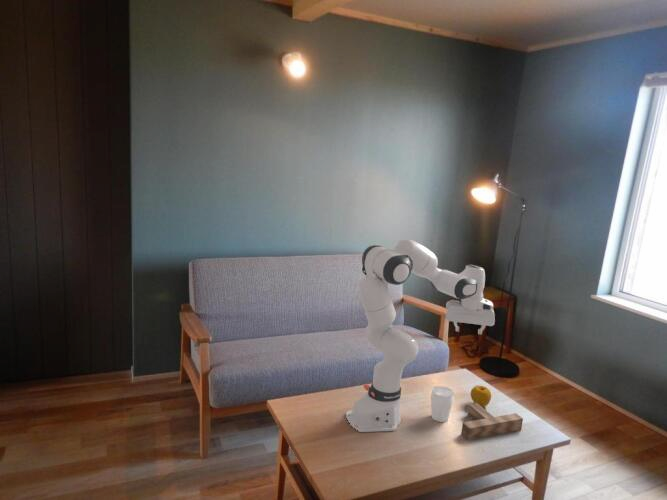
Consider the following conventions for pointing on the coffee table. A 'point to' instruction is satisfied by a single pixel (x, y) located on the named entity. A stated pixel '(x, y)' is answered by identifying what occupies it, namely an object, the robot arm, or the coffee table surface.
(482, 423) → the t block
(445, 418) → the cup
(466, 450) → the coffee table surface
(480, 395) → the apple
